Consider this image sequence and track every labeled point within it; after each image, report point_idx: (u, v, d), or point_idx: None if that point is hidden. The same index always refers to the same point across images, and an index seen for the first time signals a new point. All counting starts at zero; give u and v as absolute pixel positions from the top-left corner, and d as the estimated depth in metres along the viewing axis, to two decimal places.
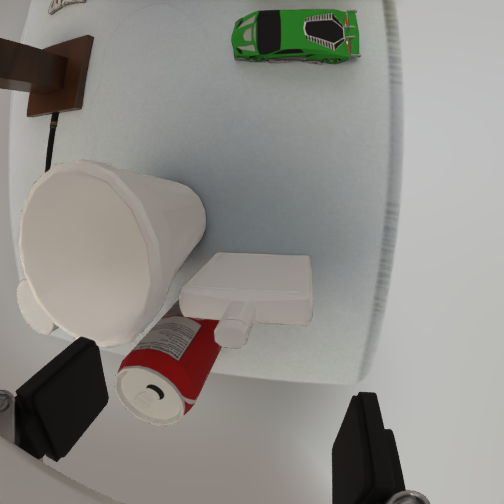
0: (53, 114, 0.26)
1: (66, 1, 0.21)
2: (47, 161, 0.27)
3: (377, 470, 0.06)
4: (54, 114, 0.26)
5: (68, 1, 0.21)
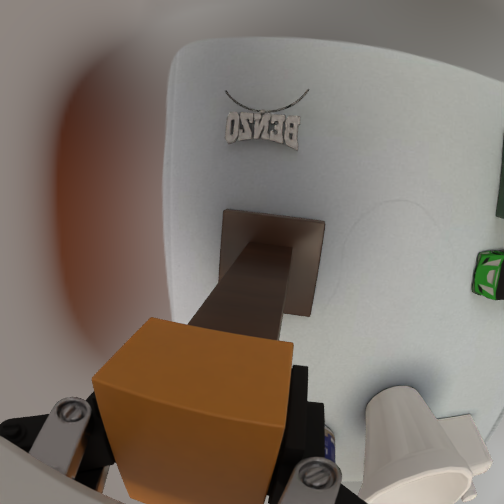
0: None
1: (264, 136, 0.23)
2: None
3: (290, 433, 0.07)
4: None
5: (268, 137, 0.23)
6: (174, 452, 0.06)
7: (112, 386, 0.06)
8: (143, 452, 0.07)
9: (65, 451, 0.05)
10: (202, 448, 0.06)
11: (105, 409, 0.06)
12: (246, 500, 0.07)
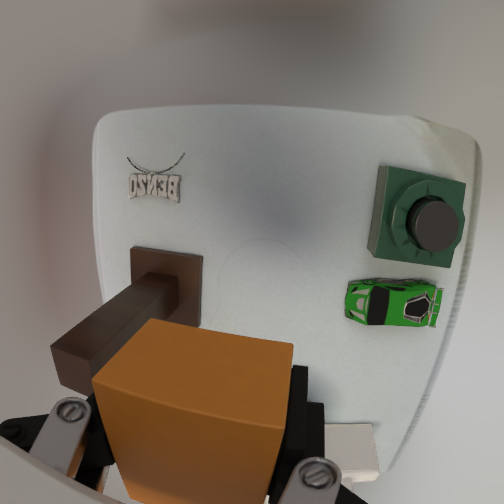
0: None
1: (153, 192, 0.30)
2: None
3: (290, 433, 0.07)
4: None
5: (156, 193, 0.30)
6: (174, 453, 0.06)
7: (112, 387, 0.06)
8: (143, 453, 0.07)
9: (65, 451, 0.05)
10: (202, 450, 0.06)
11: (105, 410, 0.06)
12: (246, 501, 0.07)
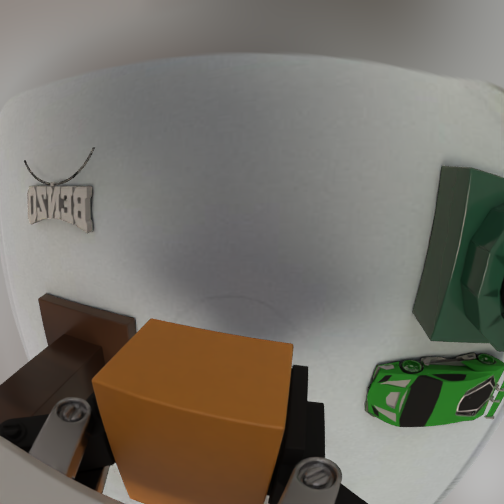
0: None
1: (56, 215, 0.17)
2: None
3: (290, 433, 0.07)
4: None
5: (60, 217, 0.17)
6: (174, 453, 0.06)
7: (112, 387, 0.06)
8: (143, 453, 0.07)
9: (65, 451, 0.05)
10: (202, 449, 0.06)
11: (105, 410, 0.06)
12: (246, 501, 0.07)
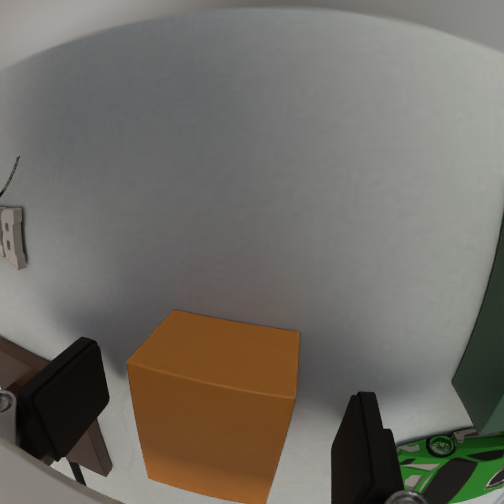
0: None
1: None
2: None
3: (376, 469, 0.06)
4: None
5: None
6: (197, 427, 0.08)
7: (146, 367, 0.07)
8: (167, 429, 0.08)
9: (6, 438, 0.05)
10: (223, 422, 0.08)
11: (136, 389, 0.08)
12: (258, 473, 0.08)
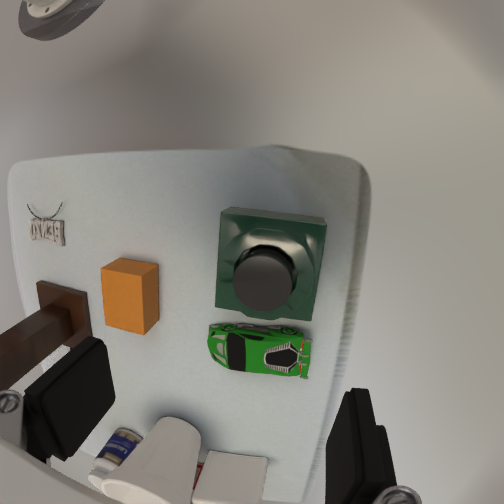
0: None
1: (45, 236, 0.30)
2: None
3: (367, 465, 0.06)
4: None
5: (48, 237, 0.30)
6: (119, 290, 0.27)
7: (105, 269, 0.27)
8: (111, 293, 0.27)
9: (12, 438, 0.05)
10: (125, 286, 0.27)
11: (103, 278, 0.27)
12: (138, 311, 0.27)
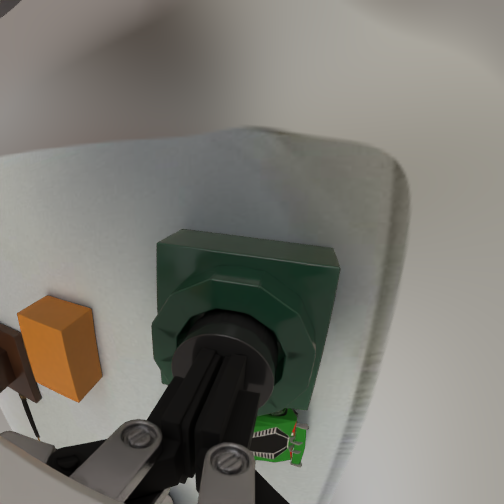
0: None
1: None
2: (29, 419, 0.26)
3: (209, 416, 0.07)
4: None
5: None
6: (40, 344, 0.17)
7: (22, 315, 0.16)
8: (33, 346, 0.17)
9: (118, 478, 0.05)
10: (46, 341, 0.16)
11: (21, 326, 0.17)
12: (66, 374, 0.17)
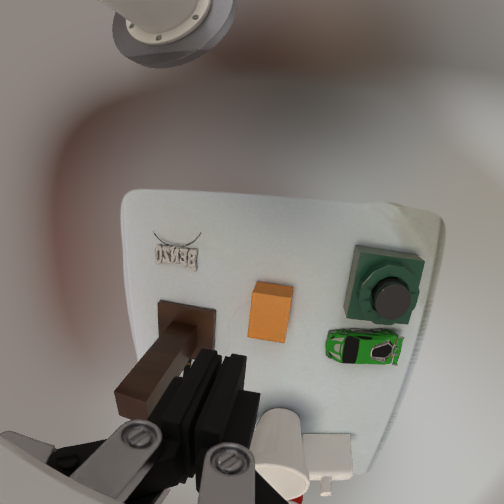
0: None
1: (176, 261, 0.39)
2: None
3: (209, 416, 0.07)
4: None
5: (178, 262, 0.39)
6: (268, 309, 0.36)
7: (257, 293, 0.36)
8: (260, 311, 0.36)
9: (118, 478, 0.05)
10: (275, 306, 0.36)
11: (253, 300, 0.36)
12: (283, 325, 0.36)
